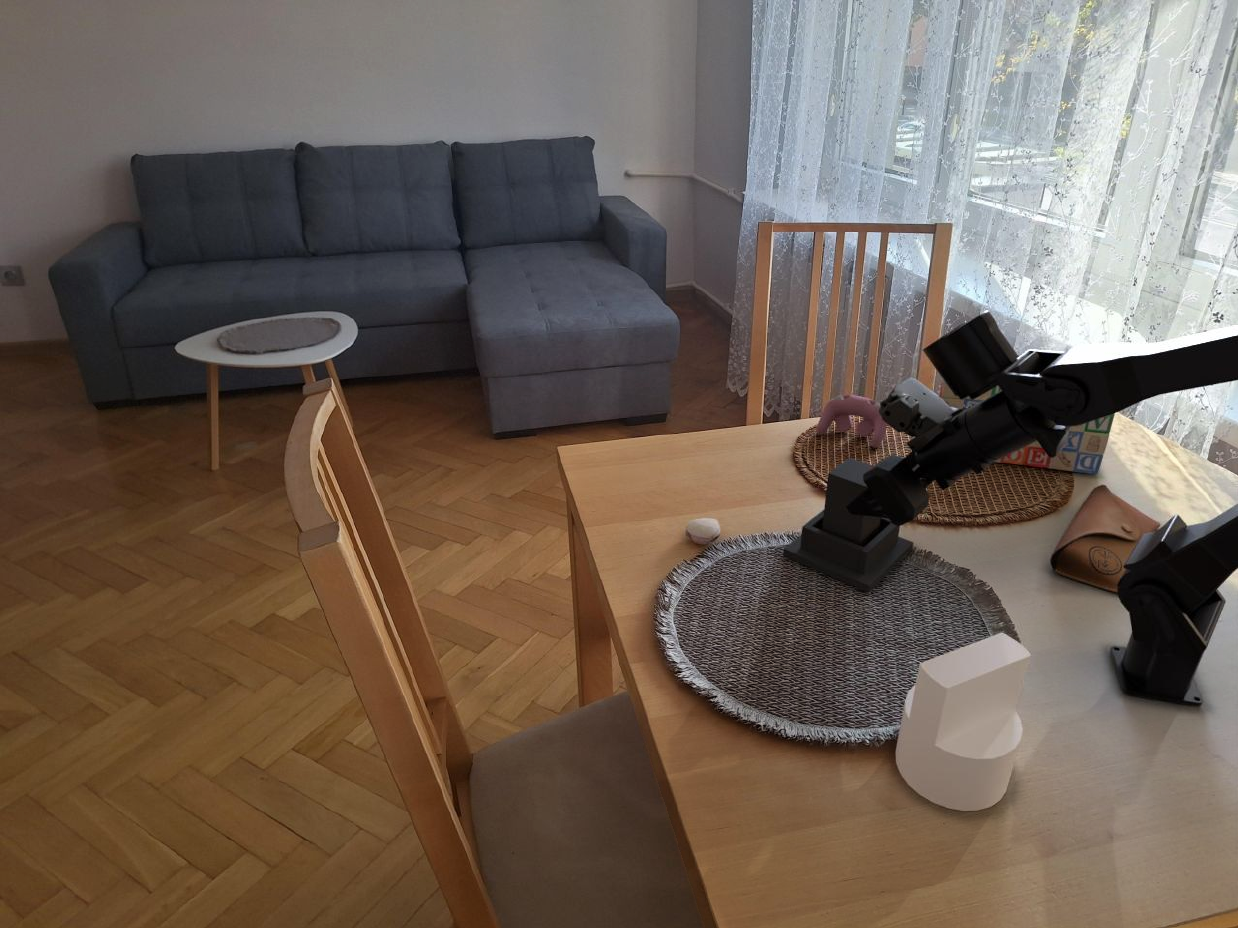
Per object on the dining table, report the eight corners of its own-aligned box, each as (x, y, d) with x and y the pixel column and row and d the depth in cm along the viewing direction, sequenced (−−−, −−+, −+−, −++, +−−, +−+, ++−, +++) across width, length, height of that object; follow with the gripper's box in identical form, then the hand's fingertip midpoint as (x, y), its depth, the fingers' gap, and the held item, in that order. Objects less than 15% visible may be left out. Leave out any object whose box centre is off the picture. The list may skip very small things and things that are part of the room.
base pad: (912, 549, 98) (917, 520, 97) (868, 592, 92) (872, 563, 90) (830, 517, 105) (833, 490, 103) (782, 555, 98) (785, 527, 96)
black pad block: (877, 543, 98) (887, 470, 93) (856, 562, 95) (867, 487, 90) (840, 529, 101) (849, 457, 96) (820, 546, 98) (828, 473, 93)
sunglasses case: (1132, 595, 89) (1111, 540, 88) (1063, 600, 94) (1043, 549, 93) (1163, 522, 101) (1144, 472, 100) (1101, 530, 106) (1083, 483, 105)
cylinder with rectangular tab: (947, 827, 66) (974, 716, 60) (873, 746, 73) (891, 641, 67) (1032, 787, 69) (1065, 678, 63) (953, 713, 76) (976, 610, 70)
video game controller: (885, 450, 123) (896, 404, 123) (878, 449, 119) (890, 401, 119) (821, 435, 128) (832, 390, 127) (812, 433, 124) (824, 388, 123)
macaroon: (679, 541, 101) (679, 523, 100) (700, 522, 105) (701, 505, 104) (709, 552, 99) (709, 535, 98) (730, 533, 102) (731, 516, 101)
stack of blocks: (1092, 455, 117) (1115, 374, 111) (1098, 476, 112) (1122, 392, 106) (932, 435, 124) (945, 358, 118) (930, 454, 119) (944, 374, 113)
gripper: (975, 338, 88) (868, 406, 100) (894, 395, 76) (783, 464, 88) (1037, 425, 87) (921, 483, 99) (964, 497, 75) (843, 553, 87)
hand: (869, 493), depth 93 cm, fingers open, 9 cm apart
